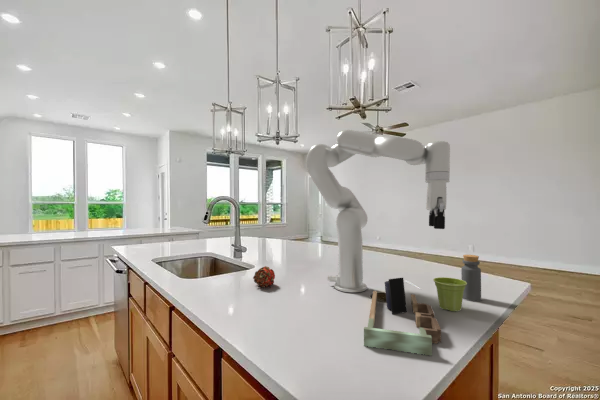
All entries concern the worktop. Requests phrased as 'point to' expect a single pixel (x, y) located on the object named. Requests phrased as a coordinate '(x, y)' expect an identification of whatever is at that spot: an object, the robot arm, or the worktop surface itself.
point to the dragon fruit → (264, 277)
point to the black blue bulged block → (395, 295)
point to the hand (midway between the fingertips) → (436, 227)
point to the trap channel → (405, 340)
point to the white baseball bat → (412, 284)
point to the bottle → (471, 278)
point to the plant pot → (450, 292)
